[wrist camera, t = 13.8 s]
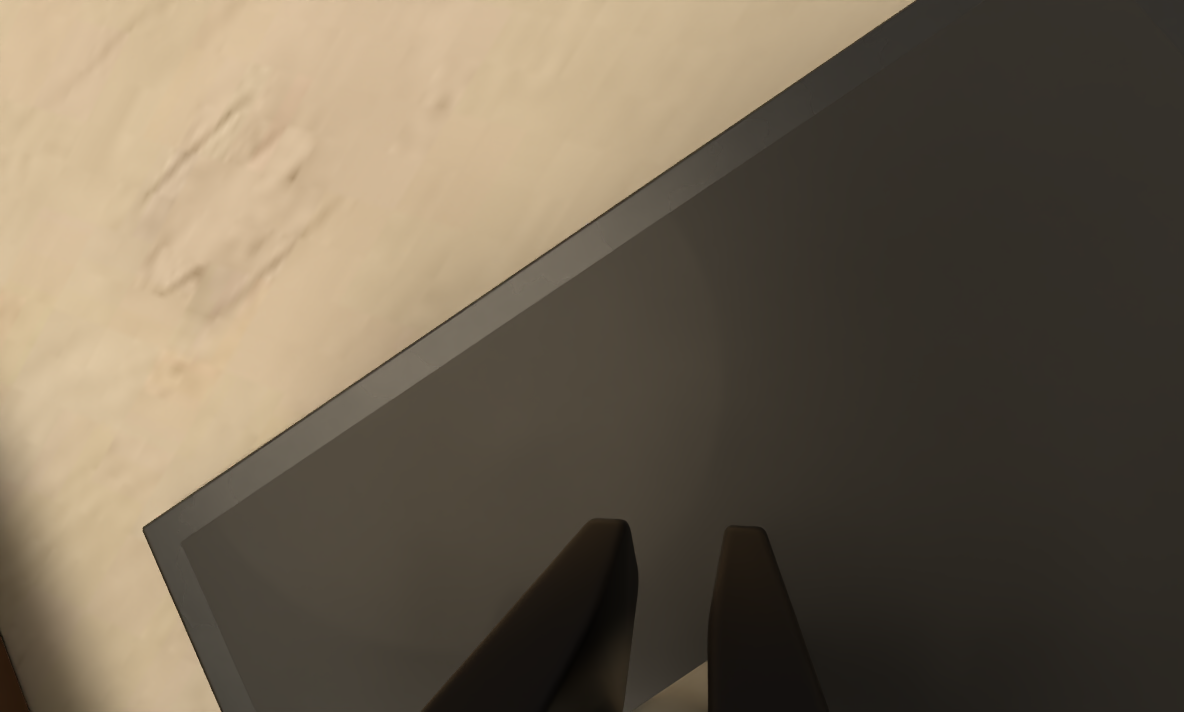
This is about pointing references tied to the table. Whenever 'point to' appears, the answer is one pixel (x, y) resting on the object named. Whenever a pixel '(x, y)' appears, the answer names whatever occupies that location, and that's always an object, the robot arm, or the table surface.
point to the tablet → (782, 402)
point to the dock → (9, 686)
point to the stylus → (682, 694)
